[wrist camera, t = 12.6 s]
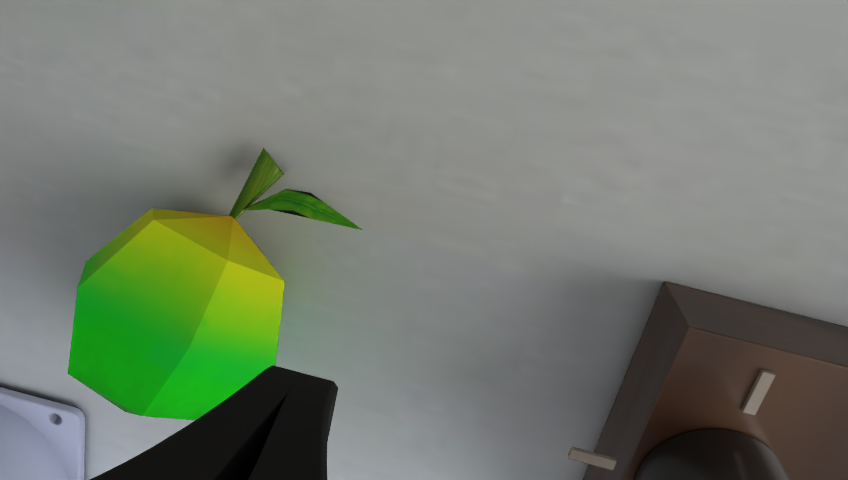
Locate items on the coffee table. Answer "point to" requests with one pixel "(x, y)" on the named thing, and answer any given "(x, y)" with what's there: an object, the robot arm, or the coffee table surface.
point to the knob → (712, 458)
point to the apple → (184, 305)
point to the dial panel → (730, 386)
